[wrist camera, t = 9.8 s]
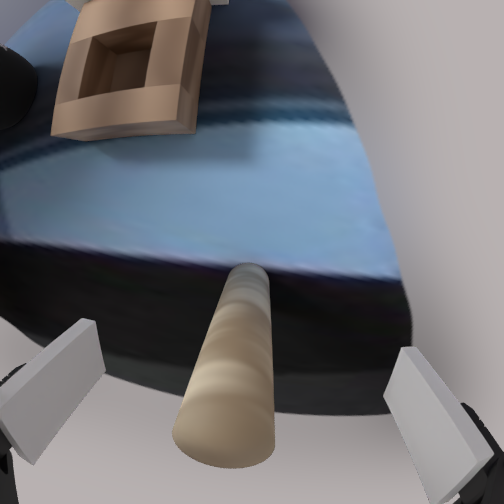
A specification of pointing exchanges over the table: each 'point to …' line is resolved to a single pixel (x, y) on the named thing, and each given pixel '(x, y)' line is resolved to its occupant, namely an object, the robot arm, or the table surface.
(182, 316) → the table surface
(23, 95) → the mug
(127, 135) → the block
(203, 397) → the dowel
